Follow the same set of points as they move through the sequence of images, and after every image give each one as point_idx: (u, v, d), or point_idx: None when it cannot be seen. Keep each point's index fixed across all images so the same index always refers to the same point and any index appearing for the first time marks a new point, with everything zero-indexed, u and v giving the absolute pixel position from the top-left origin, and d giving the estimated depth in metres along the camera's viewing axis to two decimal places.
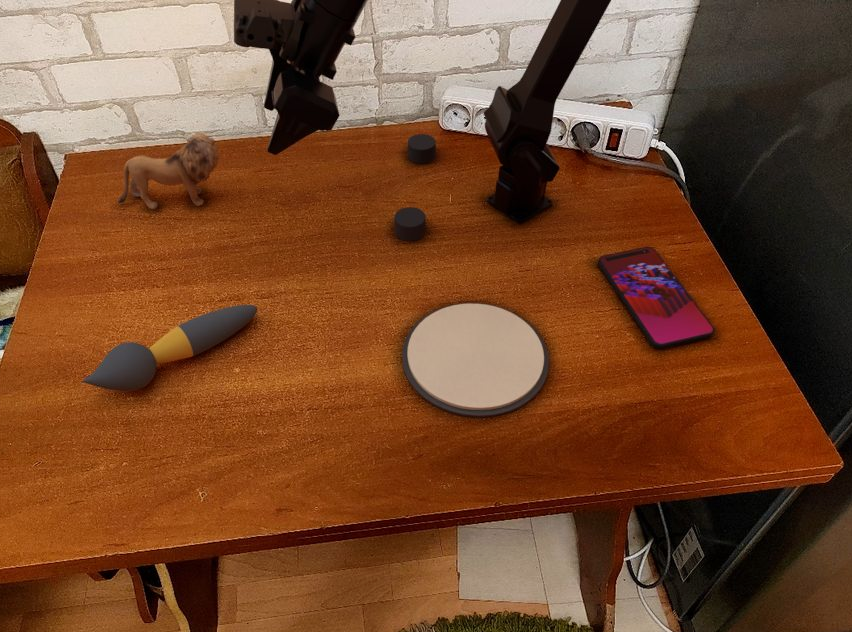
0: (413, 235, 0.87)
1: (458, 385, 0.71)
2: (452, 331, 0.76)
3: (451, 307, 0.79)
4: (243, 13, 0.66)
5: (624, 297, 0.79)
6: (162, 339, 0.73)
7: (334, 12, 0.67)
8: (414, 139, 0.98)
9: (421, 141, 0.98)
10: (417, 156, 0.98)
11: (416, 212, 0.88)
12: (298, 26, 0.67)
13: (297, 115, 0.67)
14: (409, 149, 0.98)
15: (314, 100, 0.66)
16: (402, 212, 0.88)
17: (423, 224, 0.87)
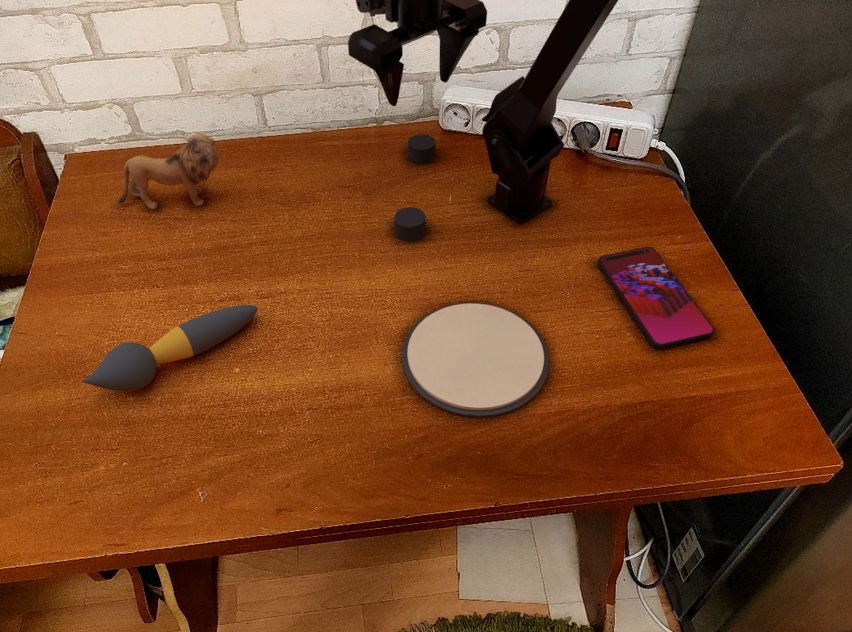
0: (413, 235, 0.87)
1: (458, 385, 0.71)
2: (452, 331, 0.76)
3: (451, 307, 0.79)
4: None
5: (624, 297, 0.79)
6: (162, 339, 0.73)
7: None
8: (414, 139, 0.98)
9: (421, 141, 0.98)
10: (417, 156, 0.98)
11: (416, 212, 0.88)
12: None
13: (357, 58, 0.83)
14: (409, 149, 0.98)
15: (361, 43, 0.81)
16: (402, 212, 0.88)
17: (423, 224, 0.87)
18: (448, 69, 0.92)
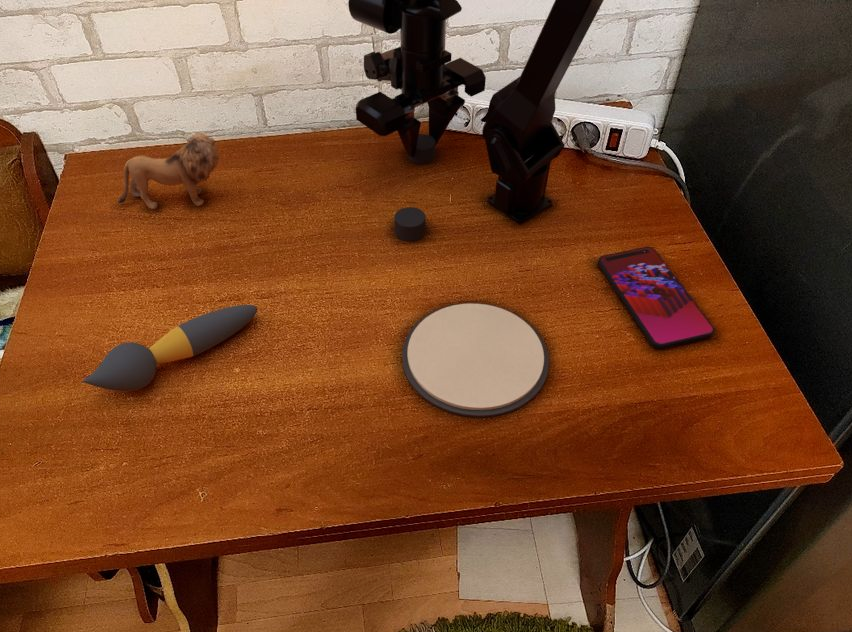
0: (413, 235, 0.87)
1: (458, 385, 0.71)
2: (452, 331, 0.76)
3: (451, 307, 0.79)
4: None
5: (624, 297, 0.79)
6: (162, 339, 0.73)
7: (406, 48, 0.86)
8: None
9: (421, 141, 0.98)
10: (417, 156, 0.98)
11: (416, 212, 0.88)
12: (394, 62, 0.90)
13: (363, 122, 0.90)
14: None
15: (367, 110, 0.88)
16: (402, 212, 0.88)
17: (423, 224, 0.87)
18: (436, 134, 0.98)
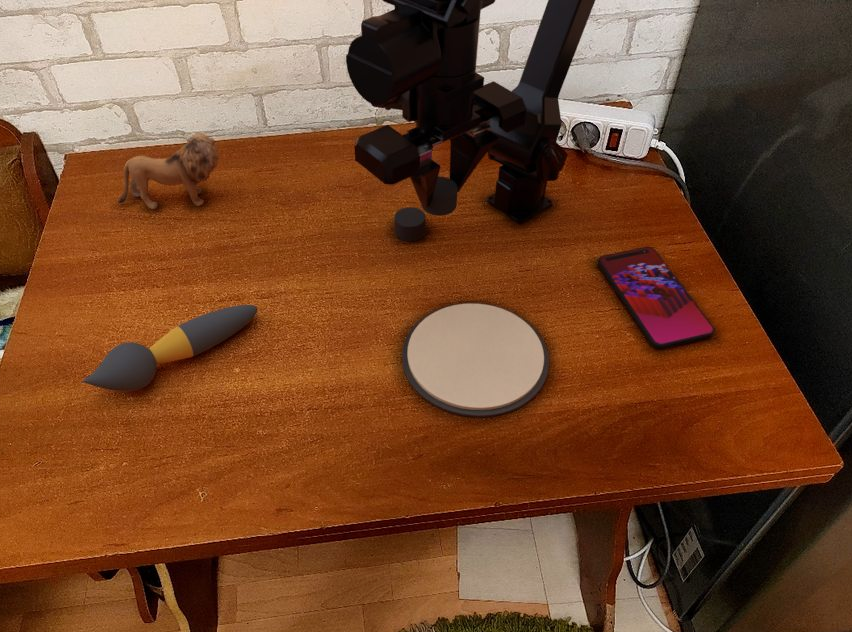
0: (413, 235, 0.87)
1: (458, 385, 0.71)
2: (452, 331, 0.76)
3: (451, 307, 0.79)
4: None
5: (624, 297, 0.79)
6: (162, 339, 0.73)
7: (467, 71, 0.63)
8: None
9: (440, 186, 0.76)
10: (433, 206, 0.76)
11: (416, 212, 0.88)
12: None
13: (364, 165, 0.68)
14: None
15: (370, 150, 0.66)
16: (402, 212, 0.88)
17: (423, 224, 0.87)
18: (460, 179, 0.76)
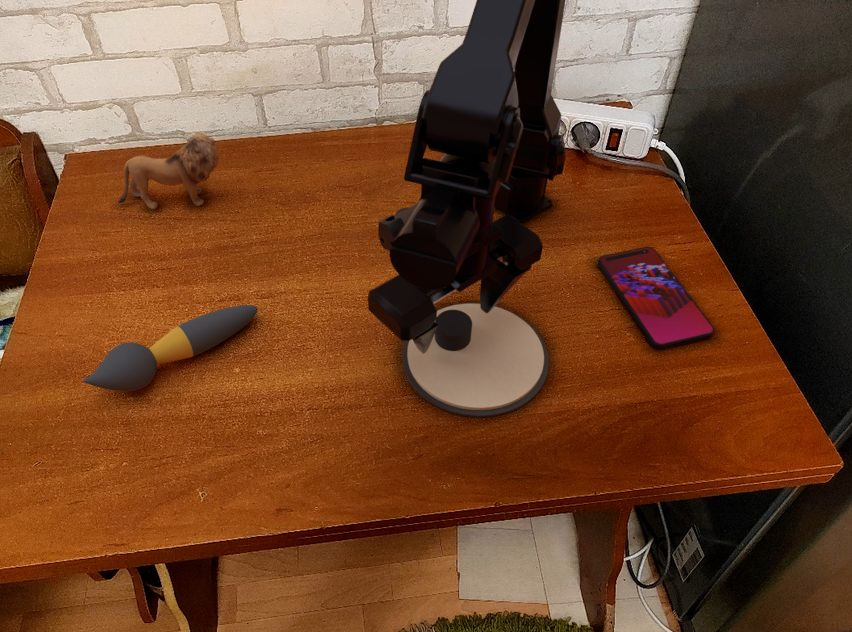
0: None
1: (458, 385, 0.71)
2: None
3: (451, 307, 0.79)
4: None
5: (624, 297, 0.79)
6: (162, 339, 0.73)
7: (490, 222, 0.62)
8: (443, 319, 0.74)
9: (453, 321, 0.74)
10: (447, 343, 0.74)
11: None
12: None
13: (378, 317, 0.65)
14: (437, 333, 0.74)
15: (384, 307, 0.64)
16: None
17: None
18: (491, 302, 0.74)
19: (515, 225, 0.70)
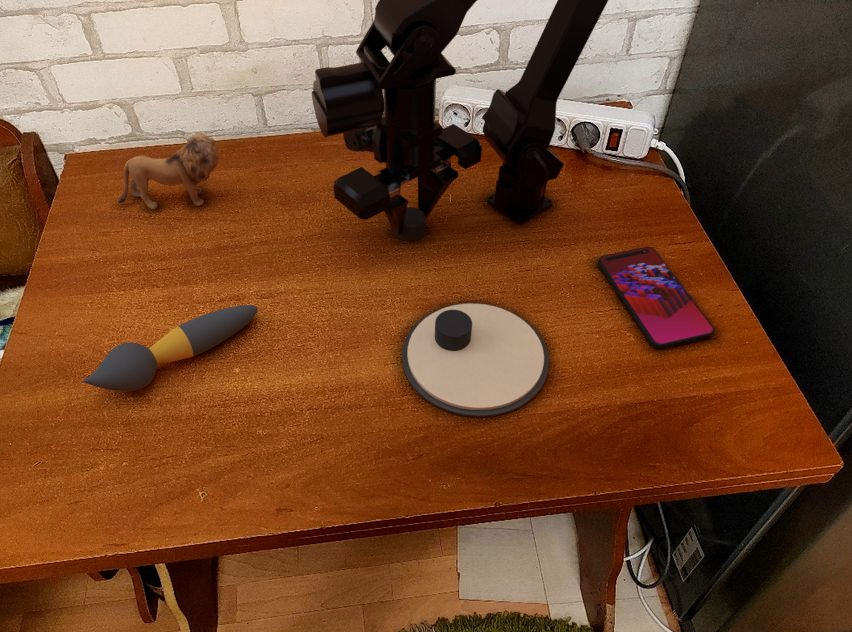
0: (413, 235, 0.87)
1: (458, 385, 0.71)
2: None
3: (451, 307, 0.79)
4: None
5: (624, 297, 0.79)
6: (162, 339, 0.73)
7: (416, 126, 0.74)
8: (443, 319, 0.74)
9: (453, 321, 0.74)
10: (447, 343, 0.74)
11: (416, 212, 0.88)
12: (377, 134, 0.79)
13: (342, 202, 0.79)
14: (437, 333, 0.74)
15: (346, 191, 0.77)
16: None
17: (423, 224, 0.87)
18: (426, 209, 0.87)
19: (459, 132, 0.84)
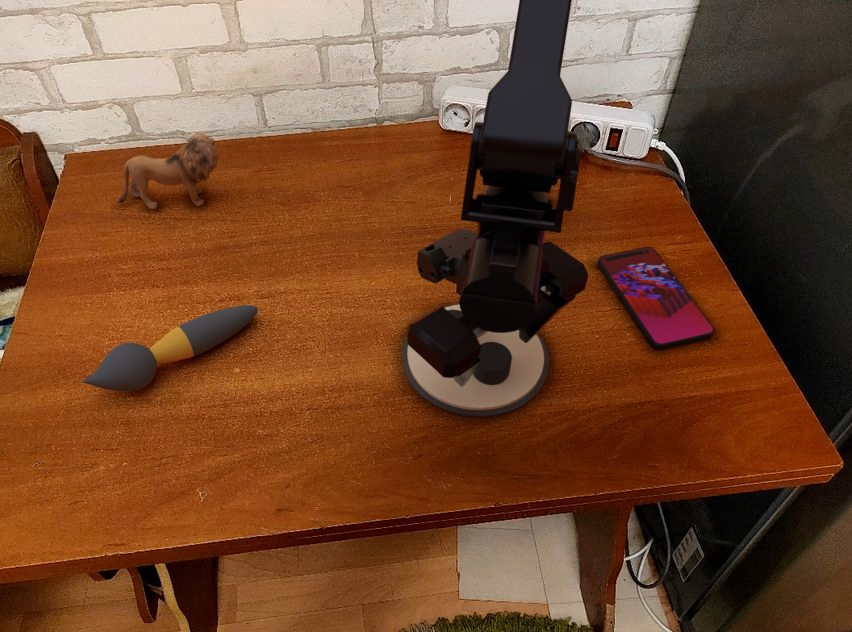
0: (497, 379, 0.71)
1: (458, 385, 0.71)
2: None
3: (451, 307, 0.79)
4: None
5: (624, 296, 0.79)
6: (162, 339, 0.73)
7: None
8: None
9: None
10: None
11: (499, 349, 0.71)
12: (464, 266, 0.62)
13: (419, 353, 0.62)
14: None
15: (426, 342, 0.60)
16: (482, 349, 0.71)
17: (509, 365, 0.70)
18: (531, 332, 0.71)
19: (559, 253, 0.67)
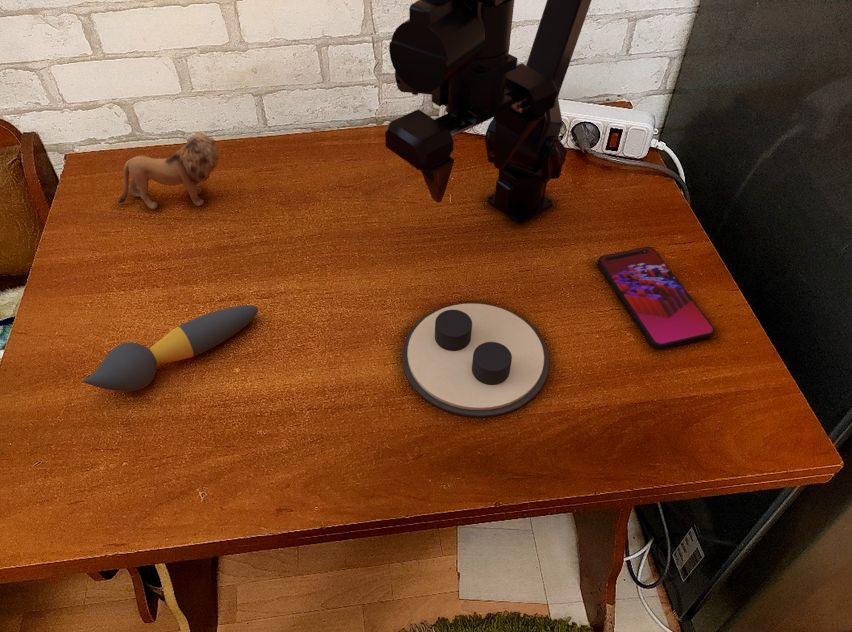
0: (497, 379, 0.71)
1: (458, 385, 0.71)
2: None
3: (451, 307, 0.79)
4: None
5: (624, 296, 0.79)
6: (162, 339, 0.73)
7: (503, 50, 0.62)
8: (443, 319, 0.74)
9: (453, 321, 0.74)
10: (447, 343, 0.74)
11: (499, 349, 0.71)
12: None
13: (396, 151, 0.66)
14: (437, 333, 0.74)
15: (402, 136, 0.64)
16: (482, 349, 0.71)
17: (509, 365, 0.70)
18: (505, 156, 0.75)
19: (529, 71, 0.71)
